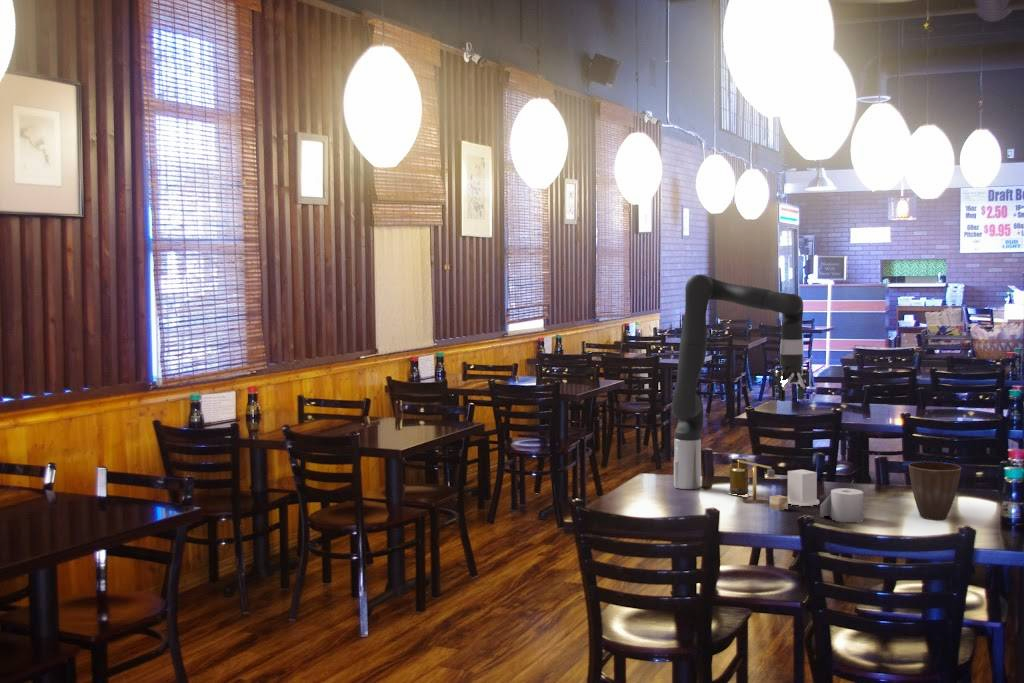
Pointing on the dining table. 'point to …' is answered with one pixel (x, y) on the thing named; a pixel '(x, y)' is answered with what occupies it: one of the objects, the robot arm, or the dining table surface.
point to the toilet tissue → (843, 505)
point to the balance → (769, 475)
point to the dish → (806, 503)
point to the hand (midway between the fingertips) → (791, 400)
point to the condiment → (738, 478)
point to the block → (778, 502)
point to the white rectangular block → (802, 485)
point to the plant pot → (934, 487)
